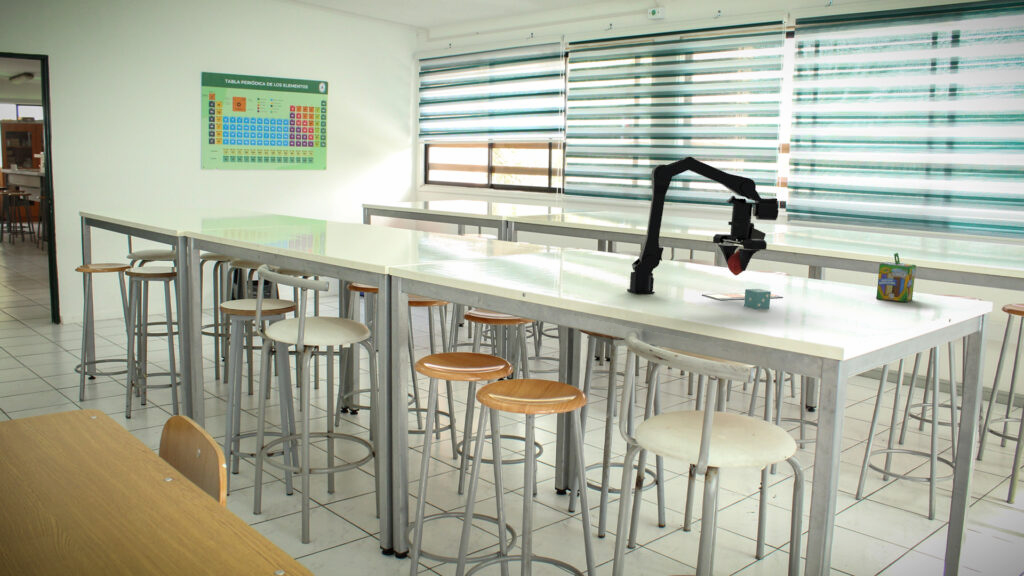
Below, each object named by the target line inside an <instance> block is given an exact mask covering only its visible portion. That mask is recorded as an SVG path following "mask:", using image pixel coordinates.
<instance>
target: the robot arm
mask: <svg viewBox="0 0 1024 576" xmlns="http://www.w3.org/2000/svg"><path fill="white" fill-rule="evenodd" d="M688 171H690V172H692V173H695V174H697V175H699V176H701V177H704V178H706V179H708V180H711V181H713V182H715V183H718V184H720V185H722V186H723V187H725V188H726V189H727V190H728V191H731V192H732V193H733V194H734V195H731V196H730V197H729V199H726V201H725V202H726V203H727V204H729V205H730V204H732V211H731V221H728V222H727V223H728V224H727V225H729V226H730V234H728V233H715V235H714V236H713V239H712V240H713V241H712V243H713V244H717V245H718V246H717V247H719V248H720V250H721V253H722V255H723V258H724V260H725V262H726V264H727V266H728V260H729V258H730V256H731V255H733V254H735V253H736V251H737V250H739V256H740V265H741V270H742V271H743V272H745V271H747V270H746V269H747V268H748V266H749V263H750V262H751V259H752V258H753V255H754V254H756V253H757V252H760V250H761V251H762V250H767V246H768V243H767V241H766V240H765V237H766V234H767V233H765V232H763V231H761V230H759V229H757V228H755V224H754V222H752V217H755V219H756V220H759V221H777V219H778V217H779V206H778V198H776V197H770V198H764V197H761V196H760V194H759V192H758V191H757V185H756V183H755V181H754V180H753V179H751V178H749V177H745V176H742V175H736V174H731V173H728V172H726V171H724V170H721V169H719V168H716V167H714V166H711V165H710V164H708V163H704V162H702V161H700V160H698V159H696V158H694V157H692V156H685V157H683V158H681V159H678V160H676V161H674V162H670V163H668V164H663V163H662V164H657V165H655V166H654V167H653V168H652V170H651V172H650V173H651V174H650V175H651V177H650V178H651V193H652V195H651V202H650V207H649V208H650V210H649V214H648V215H649V216H648V223H647V228H646V229H647V230H646V236H645V239H644V242H643V244H642V247H641V249H640V252H639V256H638V258H637V259H636V260H635V261H634V262H632V263H631V267H632V270H633V271H631V272H630V279H629V288H627V289H626V291H628V292H630V293H634V294H638V295H639V294H640V295H642V294H655V290H654V281H655V277H654V273H653V271H654V269H656V268H657V267H658V266H660V262H663V258H662V255H663V252H664V247H663V246H662V245H660V242H659V241H660V234H661V226H662V220H663V213H664V208H665V200H666V195H667V192H668V190H669V187H670V184H671V182H672V180H673V178H674V177H675V176H678V175H681V174H683V173H685V172H688ZM735 195H737V196H739V197H742V198H738V197H736V196H735ZM746 199H747V200H750V201H753V202H747V200H746ZM739 246H742V247H743V248H739Z"/></svg>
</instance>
